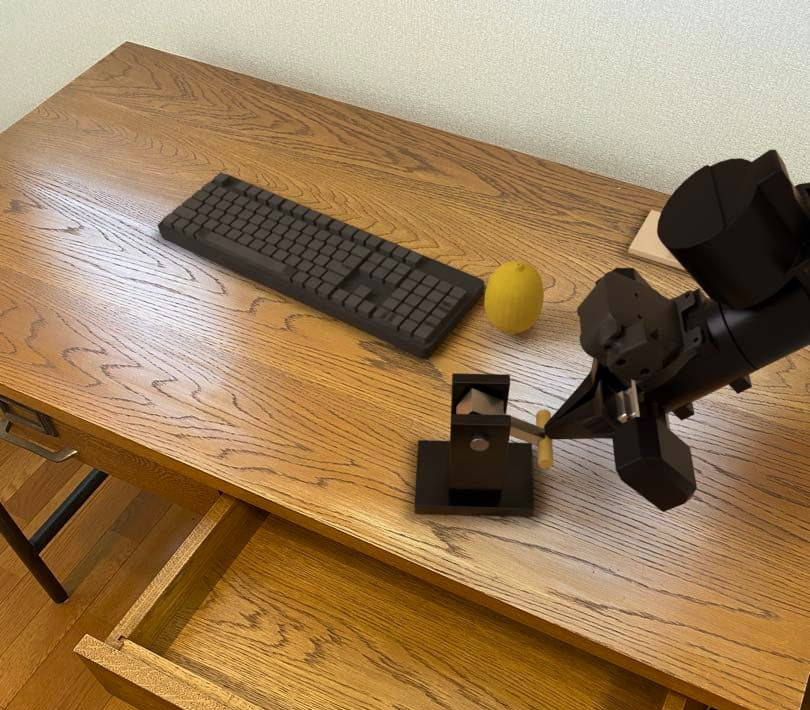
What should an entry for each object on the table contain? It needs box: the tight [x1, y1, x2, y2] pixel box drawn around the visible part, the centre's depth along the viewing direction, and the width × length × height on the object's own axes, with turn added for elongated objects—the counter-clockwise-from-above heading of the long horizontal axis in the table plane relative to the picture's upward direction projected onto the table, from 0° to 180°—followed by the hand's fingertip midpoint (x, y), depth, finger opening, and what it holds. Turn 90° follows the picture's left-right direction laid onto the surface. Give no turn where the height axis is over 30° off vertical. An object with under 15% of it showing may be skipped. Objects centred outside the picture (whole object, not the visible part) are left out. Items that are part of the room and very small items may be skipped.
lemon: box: [484, 260, 545, 335], centre depth 70 cm, size 6×6×8 cm
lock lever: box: [456, 388, 555, 469], centre depth 58 cm, size 8×5×2 cm, turn 87°
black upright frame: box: [414, 373, 535, 518], centre depth 60 cm, size 10×7×11 cm
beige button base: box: [627, 209, 687, 272], centre depth 78 cm, size 10×7×2 cm
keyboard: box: [157, 171, 485, 360], centre depth 79 cm, size 35×11×2 cm, turn 57°
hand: (547, 433), depth 59 cm, fingers closed, pressing on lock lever
